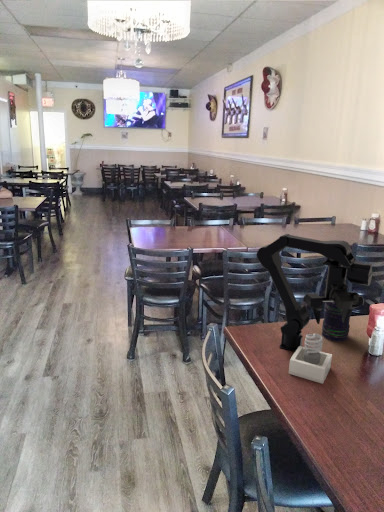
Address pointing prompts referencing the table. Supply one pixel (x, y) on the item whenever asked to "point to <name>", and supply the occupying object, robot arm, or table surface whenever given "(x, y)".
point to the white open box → (310, 366)
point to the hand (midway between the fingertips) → (330, 322)
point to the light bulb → (313, 353)
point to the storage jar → (334, 323)
